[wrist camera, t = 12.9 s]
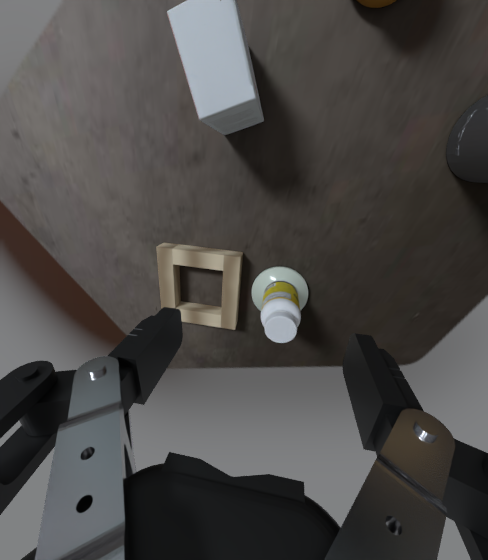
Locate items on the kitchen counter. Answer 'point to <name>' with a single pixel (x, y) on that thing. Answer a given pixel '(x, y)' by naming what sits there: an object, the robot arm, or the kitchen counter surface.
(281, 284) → the supplement bottle
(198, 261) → the pocket block
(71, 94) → the kitchen counter surface
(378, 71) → the kitchen counter surface
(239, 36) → the small box
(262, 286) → the pale green pebble
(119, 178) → the kitchen counter surface
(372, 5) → the ornamental finial
